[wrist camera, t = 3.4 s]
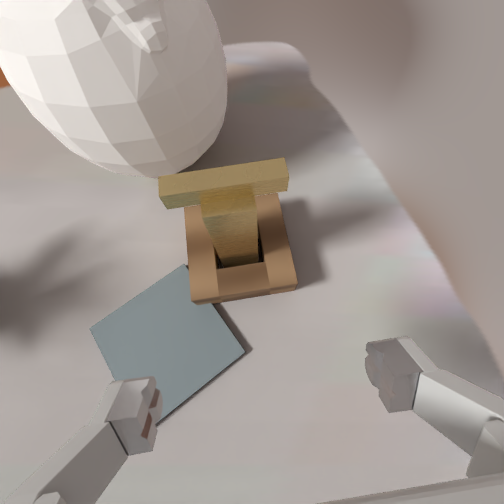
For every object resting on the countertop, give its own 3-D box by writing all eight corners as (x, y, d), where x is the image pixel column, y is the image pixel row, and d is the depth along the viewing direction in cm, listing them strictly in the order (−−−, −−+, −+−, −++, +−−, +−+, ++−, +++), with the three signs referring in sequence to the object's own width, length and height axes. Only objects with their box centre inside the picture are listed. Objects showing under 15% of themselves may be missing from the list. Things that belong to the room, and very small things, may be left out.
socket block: (294, 290, 27) (298, 283, 24) (198, 306, 27) (191, 300, 24) (275, 207, 31) (277, 192, 28) (191, 220, 30) (184, 207, 28)
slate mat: (245, 351, 25) (245, 351, 25) (145, 432, 23) (142, 434, 22) (185, 265, 28) (183, 263, 28) (92, 329, 26) (89, 328, 26)
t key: (278, 263, 28) (293, 191, 16) (205, 275, 28) (159, 211, 15) (272, 233, 30) (281, 144, 17) (202, 244, 29) (157, 162, 17)
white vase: (144, 239, 30) (-279, -172, 6) (69, 146, 35) (-315, -265, 12) (265, 149, 34) (274, -304, 10) (181, 78, 39) (62, -329, 16)
